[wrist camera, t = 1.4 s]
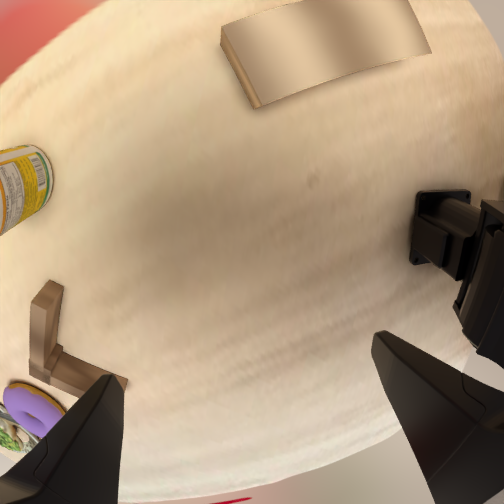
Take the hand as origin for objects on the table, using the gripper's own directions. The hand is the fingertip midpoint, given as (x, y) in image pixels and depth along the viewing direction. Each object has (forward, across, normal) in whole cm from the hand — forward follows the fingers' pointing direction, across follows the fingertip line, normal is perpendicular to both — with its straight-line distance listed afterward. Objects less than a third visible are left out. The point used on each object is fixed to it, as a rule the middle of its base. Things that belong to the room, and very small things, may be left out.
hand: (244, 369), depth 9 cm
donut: (+13, +28, +18) cm, 36 cm away
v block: (+13, +17, +9) cm, 23 cm away
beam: (+13, -8, -12) cm, 19 cm away
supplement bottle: (+13, +14, -7) cm, 21 cm away
